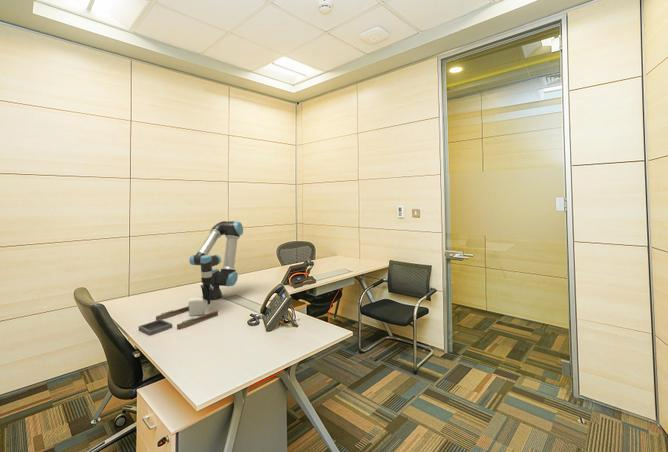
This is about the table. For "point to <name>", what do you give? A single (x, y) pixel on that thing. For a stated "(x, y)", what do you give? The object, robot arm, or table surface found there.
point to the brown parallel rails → (189, 321)
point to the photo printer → (196, 306)
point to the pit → (155, 327)
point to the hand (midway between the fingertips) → (208, 308)
